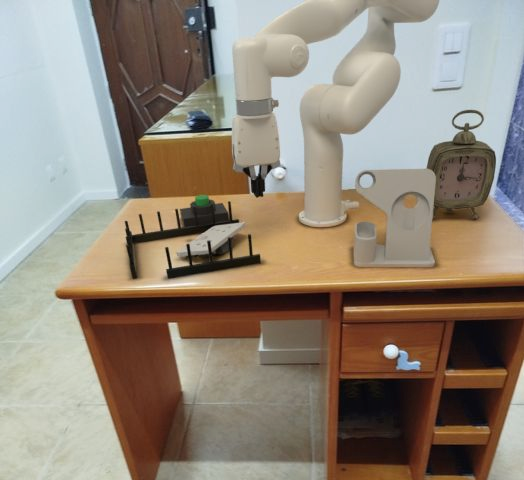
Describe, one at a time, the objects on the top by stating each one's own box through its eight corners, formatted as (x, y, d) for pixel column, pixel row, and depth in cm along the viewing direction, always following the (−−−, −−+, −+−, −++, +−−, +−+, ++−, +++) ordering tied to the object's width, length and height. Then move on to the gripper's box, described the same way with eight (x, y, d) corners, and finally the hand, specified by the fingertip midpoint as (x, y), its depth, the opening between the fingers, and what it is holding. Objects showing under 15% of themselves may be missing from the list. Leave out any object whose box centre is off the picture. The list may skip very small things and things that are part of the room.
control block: (223, 213, 135) (221, 195, 132) (229, 223, 129) (227, 204, 126) (181, 219, 133) (178, 201, 130) (184, 229, 127) (181, 211, 124)
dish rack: (238, 226, 127) (236, 200, 123) (260, 263, 108) (258, 233, 104) (129, 242, 122) (123, 216, 118) (133, 284, 103) (125, 254, 99)
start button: (208, 201, 130) (207, 194, 129) (210, 205, 127) (209, 198, 126) (195, 203, 130) (194, 195, 128) (197, 207, 127) (195, 200, 126)
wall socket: (224, 263, 106) (220, 246, 104) (165, 267, 112) (160, 251, 110) (251, 235, 121) (248, 219, 119) (198, 240, 126) (194, 225, 124)
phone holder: (352, 266, 104) (357, 183, 94) (351, 247, 112) (355, 168, 102) (435, 267, 102) (449, 181, 91) (428, 247, 110) (441, 166, 99)
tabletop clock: (424, 222, 121) (439, 114, 107) (419, 210, 129) (433, 107, 114) (484, 222, 120) (508, 112, 105) (475, 209, 127) (497, 104, 112)
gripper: (283, 102, 105) (284, 187, 116) (216, 108, 102) (223, 194, 113) (293, 107, 99) (294, 196, 110) (222, 114, 96) (230, 204, 107)
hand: (258, 195), depth 111 cm, fingers closed
